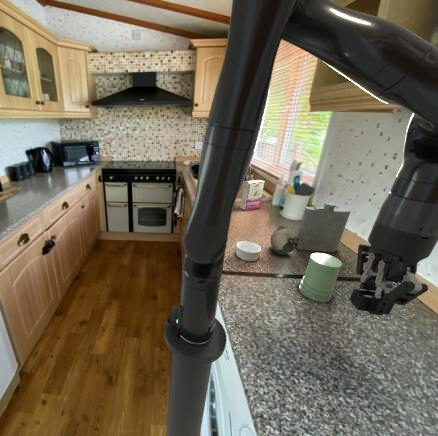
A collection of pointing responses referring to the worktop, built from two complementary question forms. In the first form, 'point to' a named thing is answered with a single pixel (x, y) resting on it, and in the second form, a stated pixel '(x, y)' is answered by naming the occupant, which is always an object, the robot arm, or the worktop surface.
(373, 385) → the worktop surface
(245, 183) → the candy bar box
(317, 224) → the hip flask
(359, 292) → the binder clip
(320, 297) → the cup stack
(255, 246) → the ramekin
